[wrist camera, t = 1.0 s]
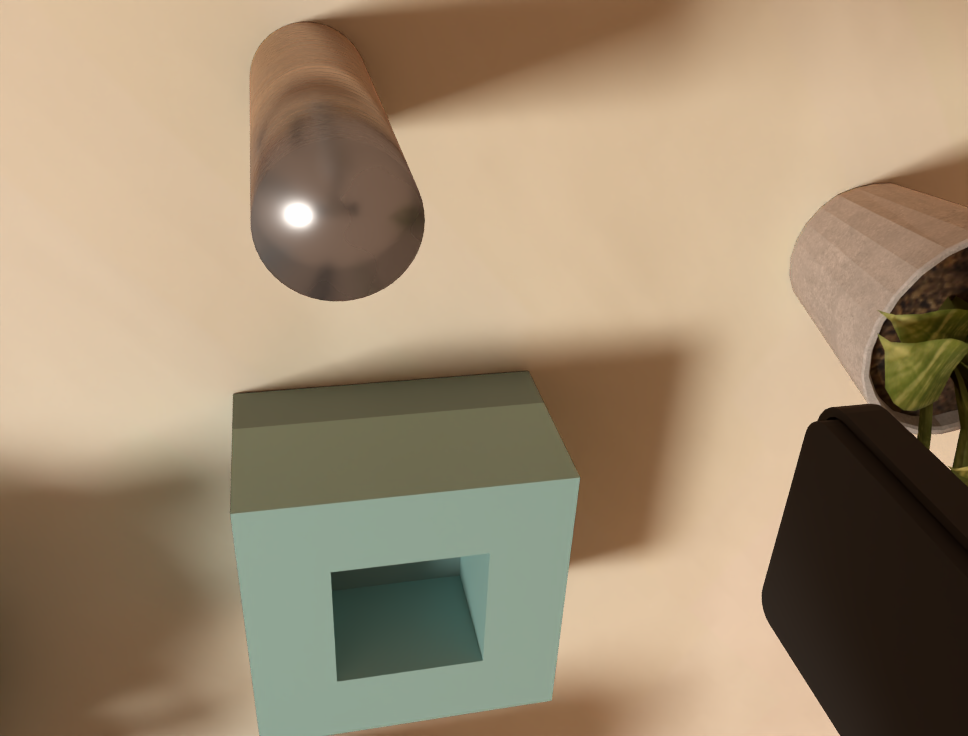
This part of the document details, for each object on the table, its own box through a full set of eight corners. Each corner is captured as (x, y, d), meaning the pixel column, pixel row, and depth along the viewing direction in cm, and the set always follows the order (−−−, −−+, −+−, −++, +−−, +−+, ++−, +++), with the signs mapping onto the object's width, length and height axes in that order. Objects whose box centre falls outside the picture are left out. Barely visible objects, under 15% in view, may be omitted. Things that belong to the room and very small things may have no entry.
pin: (244, 21, 24) (242, 142, 16) (366, 22, 25) (425, 138, 16) (254, 140, 26) (258, 305, 17) (368, 138, 26) (424, 295, 18)
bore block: (233, 393, 30) (229, 513, 25) (528, 370, 32) (580, 477, 27) (259, 611, 35) (260, 745, 30) (511, 579, 37) (551, 700, 32)
